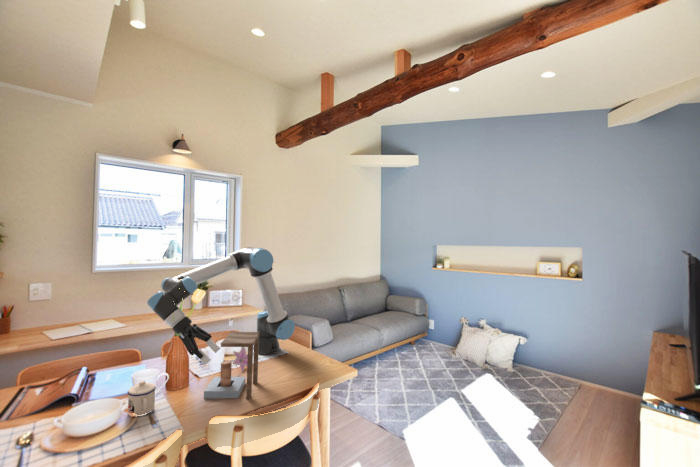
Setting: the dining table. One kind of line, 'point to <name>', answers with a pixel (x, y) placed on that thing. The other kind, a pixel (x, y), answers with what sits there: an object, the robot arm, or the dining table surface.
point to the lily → (241, 358)
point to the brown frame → (248, 341)
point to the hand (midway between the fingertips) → (213, 356)
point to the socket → (224, 388)
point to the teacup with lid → (141, 398)
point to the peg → (226, 374)
